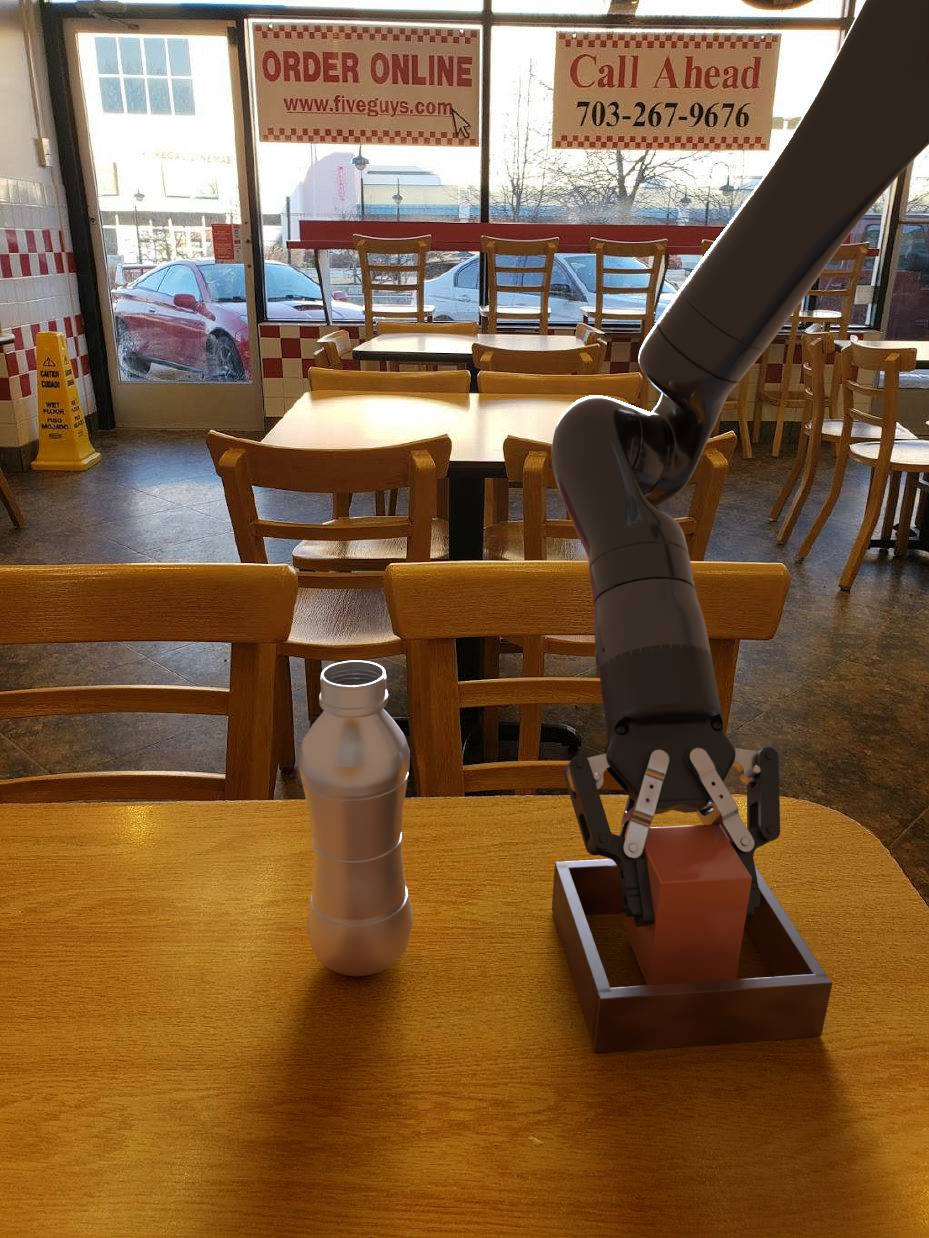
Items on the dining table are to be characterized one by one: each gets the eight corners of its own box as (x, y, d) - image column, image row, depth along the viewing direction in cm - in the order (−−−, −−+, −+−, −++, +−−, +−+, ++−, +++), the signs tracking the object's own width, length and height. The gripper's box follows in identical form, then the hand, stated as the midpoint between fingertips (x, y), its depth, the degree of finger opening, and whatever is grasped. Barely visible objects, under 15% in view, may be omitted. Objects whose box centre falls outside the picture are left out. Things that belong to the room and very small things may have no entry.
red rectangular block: (705, 924, 63) (718, 823, 60) (736, 984, 58) (752, 877, 55) (624, 930, 62) (634, 827, 59) (648, 991, 57) (661, 882, 54)
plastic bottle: (426, 974, 59) (429, 687, 52) (321, 1002, 57) (308, 706, 49) (395, 911, 65) (393, 644, 57) (298, 934, 62) (283, 659, 55)
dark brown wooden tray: (739, 898, 67) (746, 851, 65) (821, 1036, 55) (832, 982, 54) (551, 909, 65) (554, 861, 64) (595, 1053, 54) (600, 998, 52)
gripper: (559, 643, 59) (591, 923, 52) (777, 636, 61) (836, 908, 54) (539, 683, 66) (566, 935, 59) (736, 676, 68) (784, 921, 61)
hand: (694, 921), depth 57 cm, fingers closed on red rectangular block, 5 cm apart
